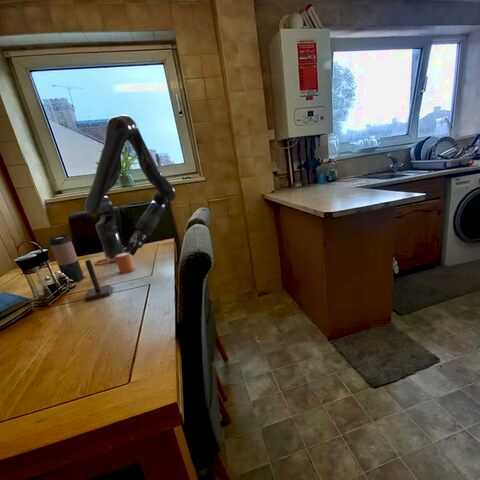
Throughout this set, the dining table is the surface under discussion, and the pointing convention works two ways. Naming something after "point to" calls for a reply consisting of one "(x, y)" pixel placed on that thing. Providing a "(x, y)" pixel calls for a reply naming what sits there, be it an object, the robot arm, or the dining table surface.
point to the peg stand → (96, 285)
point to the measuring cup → (119, 262)
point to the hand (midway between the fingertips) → (129, 252)
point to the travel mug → (66, 257)
